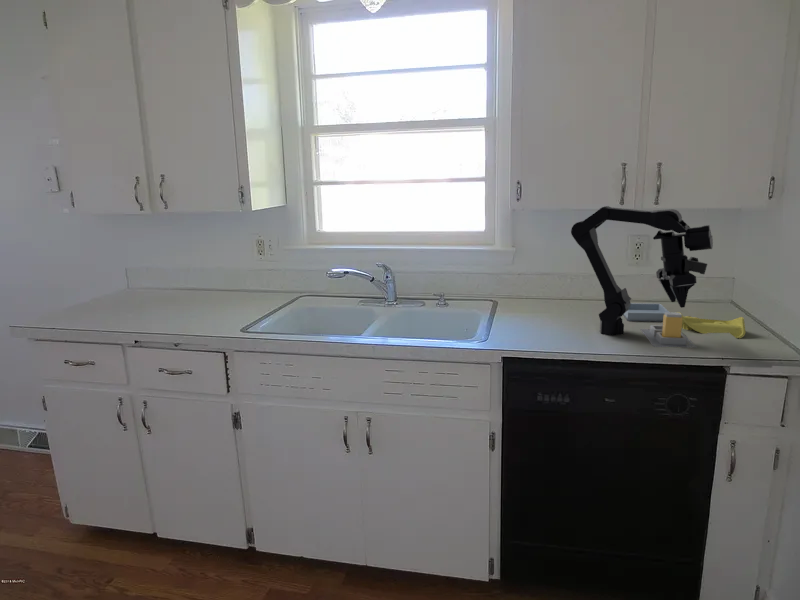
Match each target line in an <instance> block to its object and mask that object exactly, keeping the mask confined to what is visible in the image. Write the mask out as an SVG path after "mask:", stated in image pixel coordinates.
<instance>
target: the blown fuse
mask: <svg viewBox="0 0 800 600" xmlns="http://www.w3.org/2000/svg"><path fill="white" fill-rule="evenodd" d="M676 312H677V311H676ZM676 312H672V311H671V312H670V311H669V312H665V315H664V316H663V322H662V325H663V328H662V337H675V338H681V332H682V329H683V328H682V315H683V314H682V313H681V312H680V313H681V314H682V315H681V314H680V313H676Z"/></svg>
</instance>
